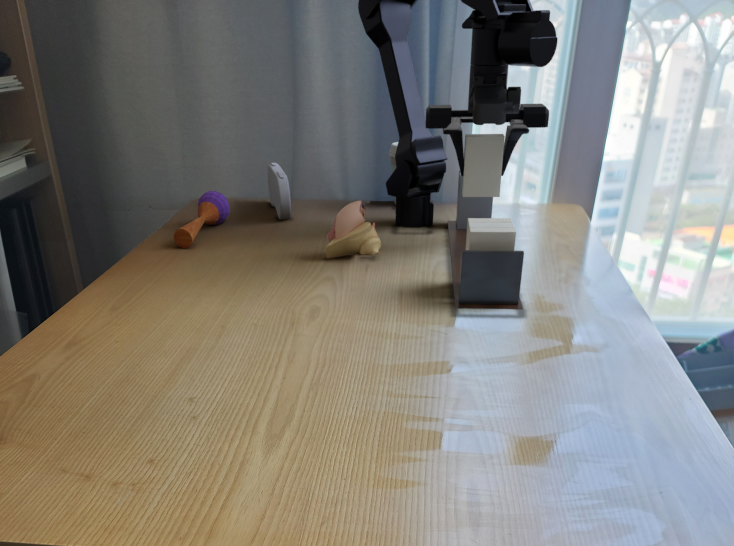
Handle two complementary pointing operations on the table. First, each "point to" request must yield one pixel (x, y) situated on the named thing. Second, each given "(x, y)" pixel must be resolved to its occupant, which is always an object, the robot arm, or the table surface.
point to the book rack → (484, 275)
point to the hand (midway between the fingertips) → (481, 175)
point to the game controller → (279, 191)
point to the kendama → (203, 217)
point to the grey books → (471, 207)
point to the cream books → (490, 234)
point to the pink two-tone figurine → (352, 233)
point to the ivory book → (482, 165)
